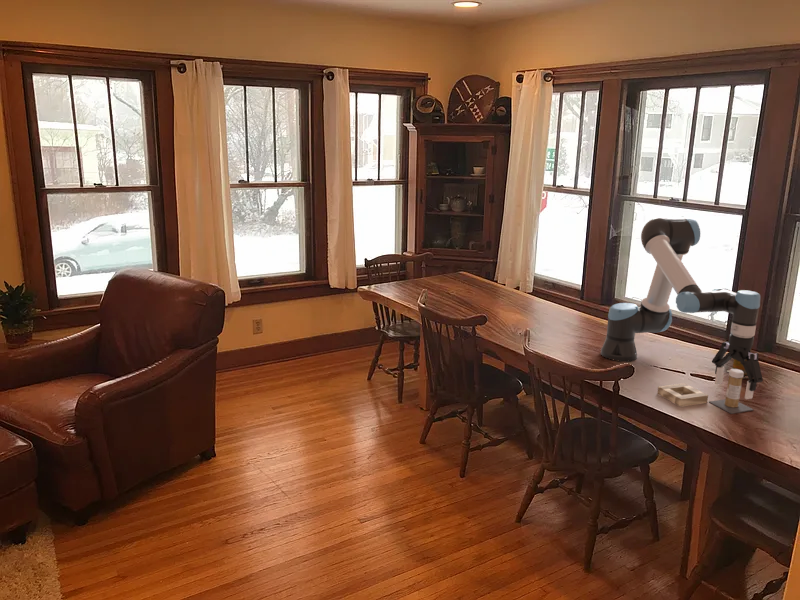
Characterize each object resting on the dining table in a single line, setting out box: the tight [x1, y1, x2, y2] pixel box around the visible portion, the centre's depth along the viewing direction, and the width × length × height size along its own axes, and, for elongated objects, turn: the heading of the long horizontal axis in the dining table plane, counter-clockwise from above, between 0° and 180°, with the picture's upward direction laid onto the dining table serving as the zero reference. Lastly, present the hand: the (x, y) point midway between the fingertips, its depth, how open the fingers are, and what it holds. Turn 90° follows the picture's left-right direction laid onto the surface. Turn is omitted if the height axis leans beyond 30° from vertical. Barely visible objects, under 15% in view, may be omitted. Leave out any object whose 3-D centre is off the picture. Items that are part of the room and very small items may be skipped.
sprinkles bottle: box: [724, 368, 744, 408], centre depth 222 cm, size 5×5×14 cm
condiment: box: [726, 359, 749, 379], centre depth 253 cm, size 7×8×12 cm
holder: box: [657, 382, 709, 408], centre depth 230 cm, size 12×12×3 cm
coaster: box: [709, 398, 754, 415], centre depth 223 cm, size 10×10×1 cm
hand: (732, 390), depth 222 cm, fingers open, 13 cm apart
